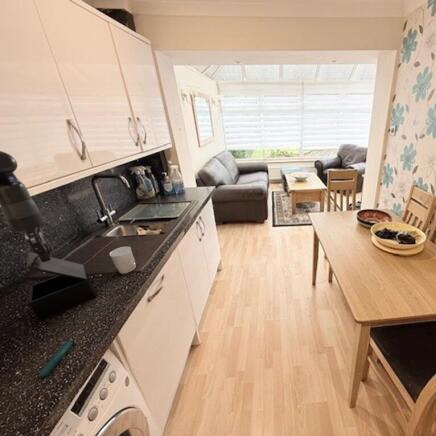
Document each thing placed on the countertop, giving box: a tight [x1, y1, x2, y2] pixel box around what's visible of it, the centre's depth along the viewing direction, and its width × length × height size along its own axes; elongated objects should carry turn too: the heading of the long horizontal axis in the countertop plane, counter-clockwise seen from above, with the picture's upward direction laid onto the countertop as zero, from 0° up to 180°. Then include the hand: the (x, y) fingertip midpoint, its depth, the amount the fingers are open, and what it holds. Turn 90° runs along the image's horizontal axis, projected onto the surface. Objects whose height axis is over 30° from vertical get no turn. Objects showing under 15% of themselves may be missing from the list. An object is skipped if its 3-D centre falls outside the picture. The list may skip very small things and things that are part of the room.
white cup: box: [109, 246, 137, 274], centre depth 107 cm, size 8×8×10 cm
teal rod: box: [39, 341, 73, 378], centre depth 69 cm, size 10×2×2 cm, turn 6°
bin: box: [28, 271, 96, 322], centre depth 90 cm, size 16×13×9 cm
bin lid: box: [25, 248, 87, 281], centre depth 87 cm, size 16×13×5 cm
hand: (46, 257), depth 84 cm, fingers closed on bin lid, 5 cm apart
